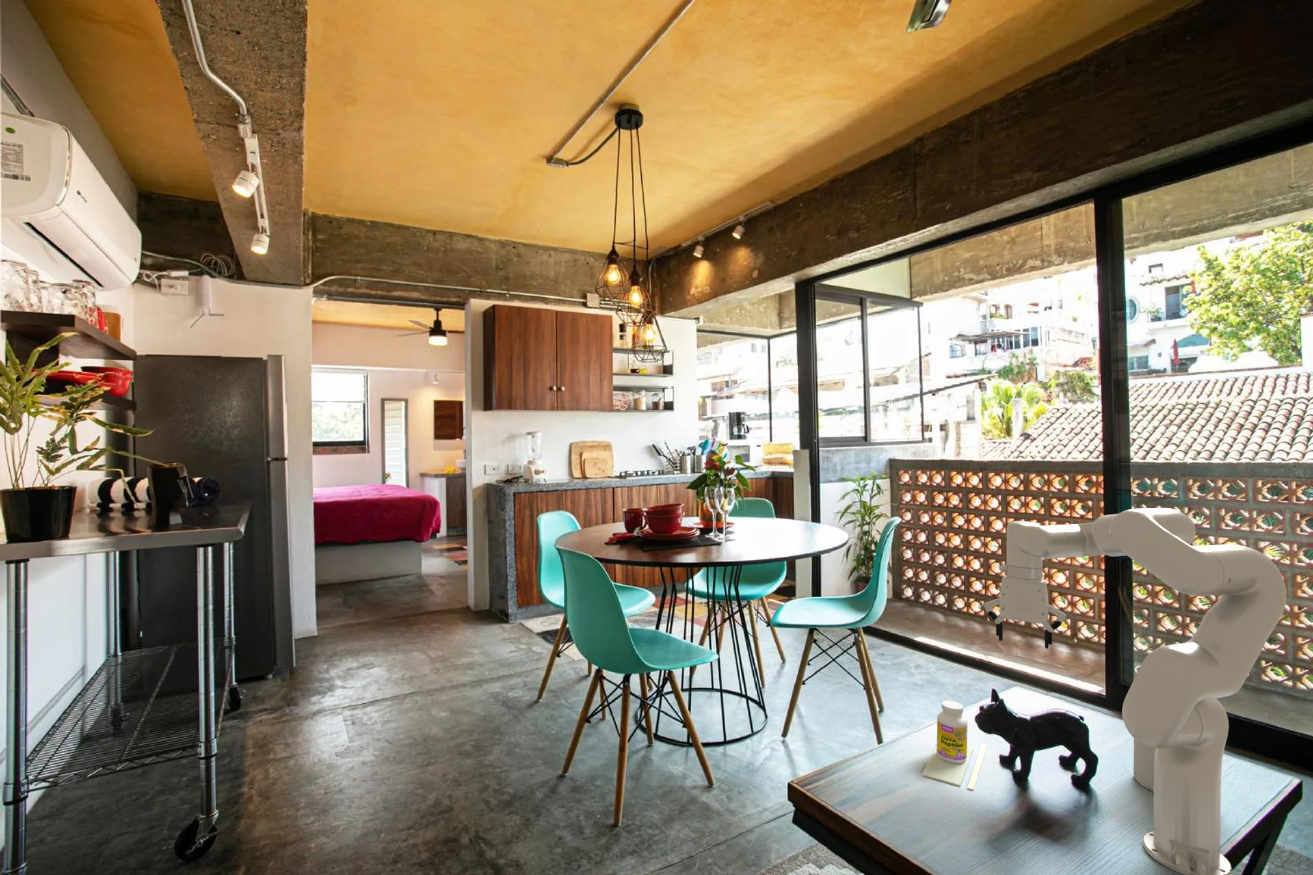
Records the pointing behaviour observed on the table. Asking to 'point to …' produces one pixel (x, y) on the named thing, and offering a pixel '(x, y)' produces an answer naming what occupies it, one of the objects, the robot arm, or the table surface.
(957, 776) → the mat
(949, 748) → the supplement bottle
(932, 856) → the table surface
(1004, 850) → the table surface
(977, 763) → the beige wooden stick
